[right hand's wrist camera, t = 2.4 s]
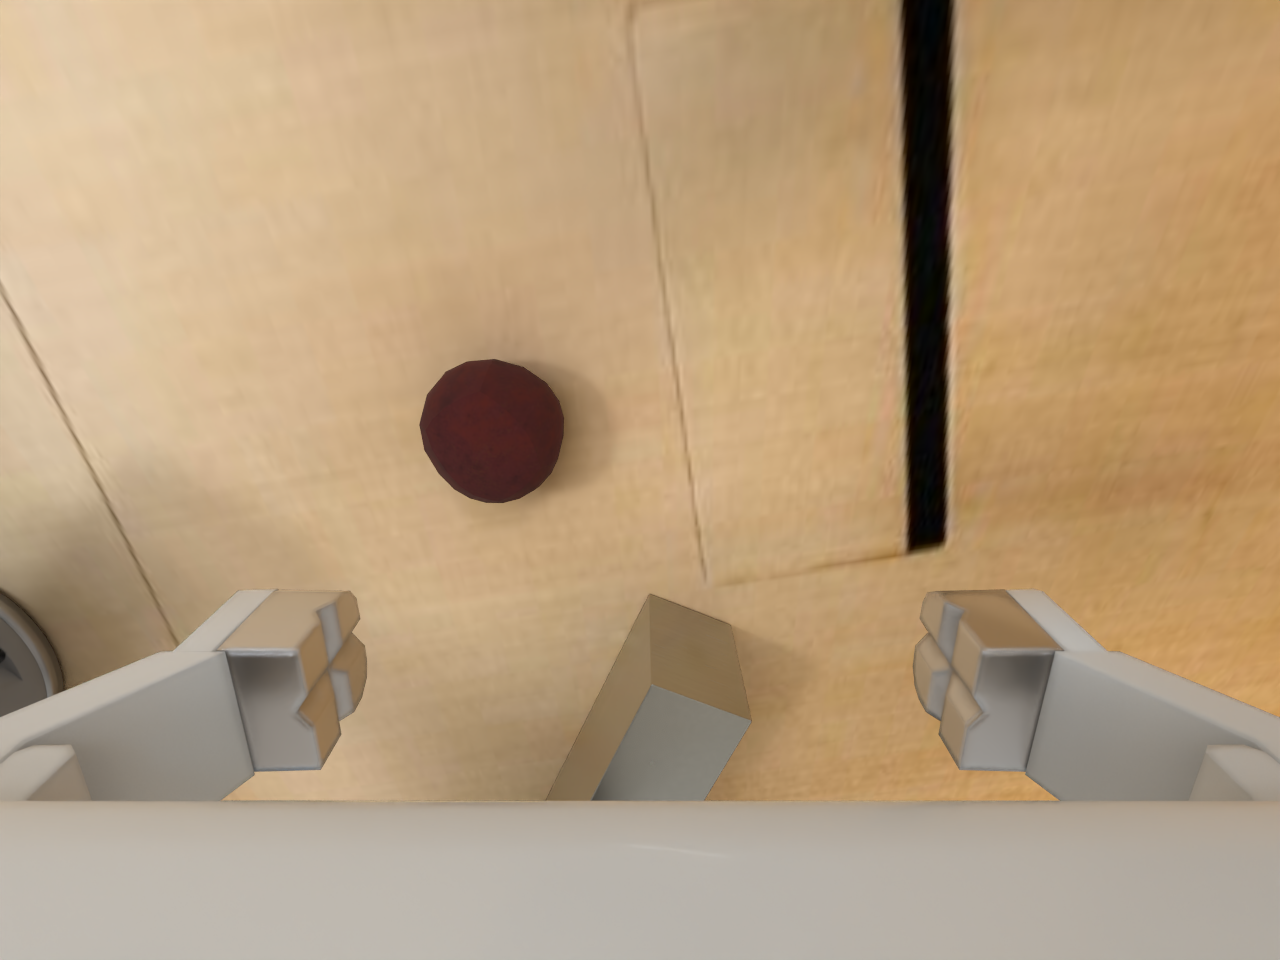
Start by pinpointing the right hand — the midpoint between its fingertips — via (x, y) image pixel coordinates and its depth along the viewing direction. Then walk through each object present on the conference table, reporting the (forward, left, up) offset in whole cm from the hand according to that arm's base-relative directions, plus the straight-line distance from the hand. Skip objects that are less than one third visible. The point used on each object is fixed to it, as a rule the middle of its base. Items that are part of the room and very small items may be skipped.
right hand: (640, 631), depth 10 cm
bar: (+20, +24, -31) cm, 44 cm away
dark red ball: (+9, 0, -31) cm, 33 cm away
